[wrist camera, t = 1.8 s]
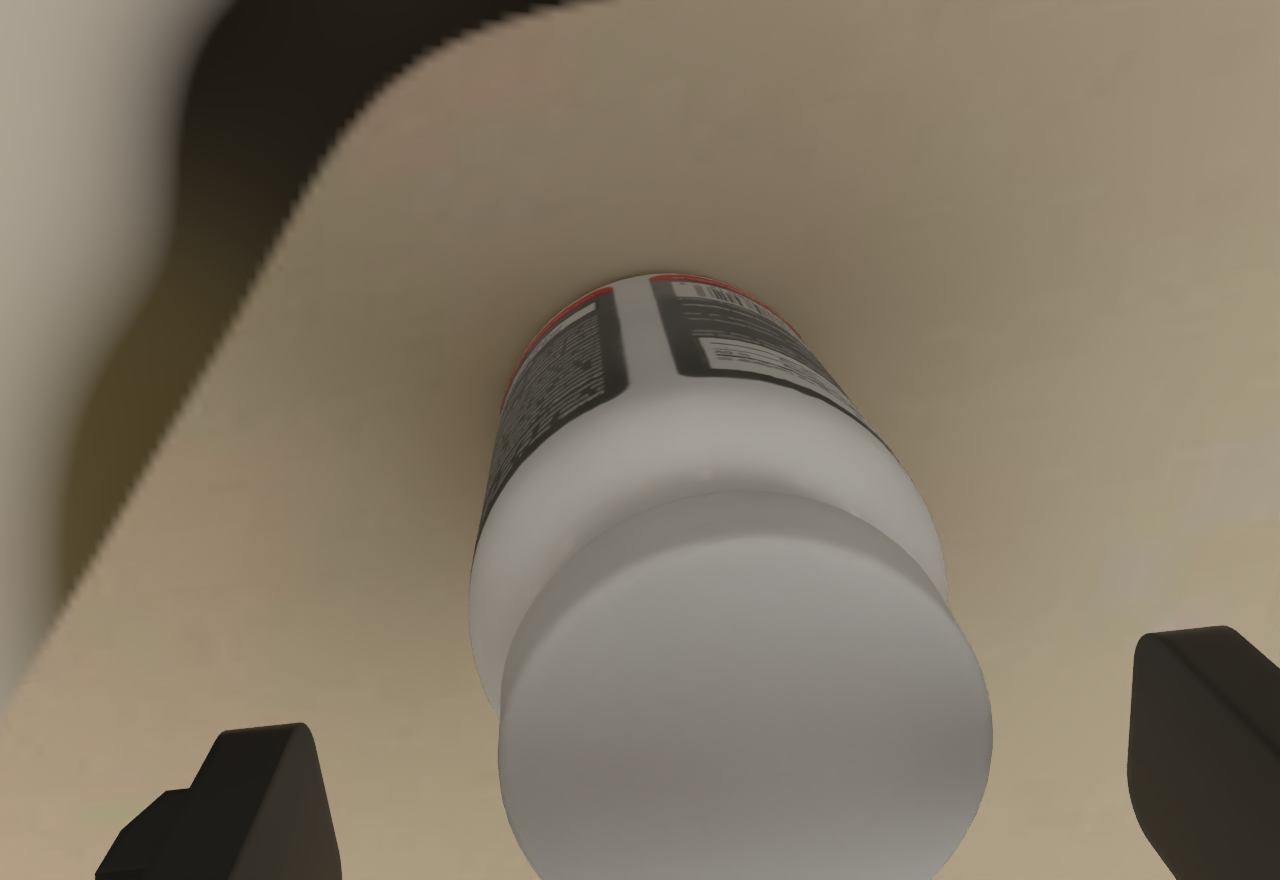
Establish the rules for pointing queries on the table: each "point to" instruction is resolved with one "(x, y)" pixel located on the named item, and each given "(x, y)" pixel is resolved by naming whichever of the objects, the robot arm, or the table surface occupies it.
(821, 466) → the pill bottle
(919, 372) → the table surface
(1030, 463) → the table surface
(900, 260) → the table surface
